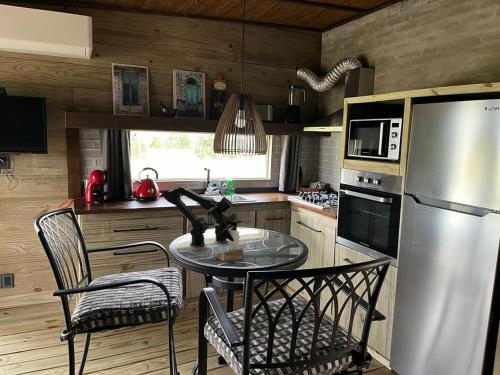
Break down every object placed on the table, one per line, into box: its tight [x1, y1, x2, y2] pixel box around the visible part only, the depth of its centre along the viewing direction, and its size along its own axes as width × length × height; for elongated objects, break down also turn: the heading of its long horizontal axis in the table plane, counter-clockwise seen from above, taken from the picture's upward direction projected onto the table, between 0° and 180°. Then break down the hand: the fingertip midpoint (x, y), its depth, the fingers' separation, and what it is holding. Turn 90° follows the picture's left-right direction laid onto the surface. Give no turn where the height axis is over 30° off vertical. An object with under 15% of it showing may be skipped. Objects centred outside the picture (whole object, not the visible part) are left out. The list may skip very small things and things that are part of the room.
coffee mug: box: [214, 222, 228, 242], centre depth 233 cm, size 12×9×10 cm
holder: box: [213, 247, 244, 263], centre depth 202 cm, size 10×11×5 cm
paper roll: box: [228, 230, 240, 250], centre depth 214 cm, size 5×5×11 cm
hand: (236, 239), depth 213 cm, fingers open, 6 cm apart
